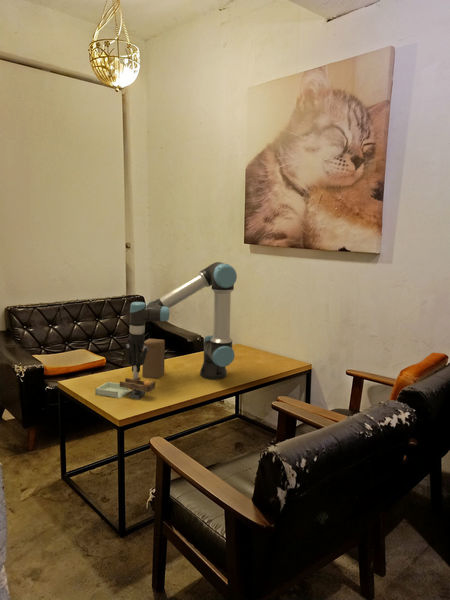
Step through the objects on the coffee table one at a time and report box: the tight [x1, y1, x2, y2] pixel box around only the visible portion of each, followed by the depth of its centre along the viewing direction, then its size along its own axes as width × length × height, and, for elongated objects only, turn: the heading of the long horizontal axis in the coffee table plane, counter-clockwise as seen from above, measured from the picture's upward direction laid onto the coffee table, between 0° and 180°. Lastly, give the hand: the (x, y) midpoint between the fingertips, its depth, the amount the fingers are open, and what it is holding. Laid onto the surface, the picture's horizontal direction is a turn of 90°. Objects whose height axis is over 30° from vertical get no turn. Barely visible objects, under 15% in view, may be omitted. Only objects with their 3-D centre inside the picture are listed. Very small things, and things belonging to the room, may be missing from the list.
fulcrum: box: [128, 389, 146, 400], centre depth 223 cm, size 5×7×4 cm
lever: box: [119, 376, 156, 393], centre depth 226 cm, size 16×14×4 cm
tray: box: [95, 381, 133, 399], centre depth 227 cm, size 14×11×3 cm
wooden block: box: [141, 338, 166, 379], centre depth 254 cm, size 10×10×20 cm
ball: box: [144, 380, 152, 386], centre depth 220 cm, size 4×4×4 cm
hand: (135, 377), depth 232 cm, fingers closed
